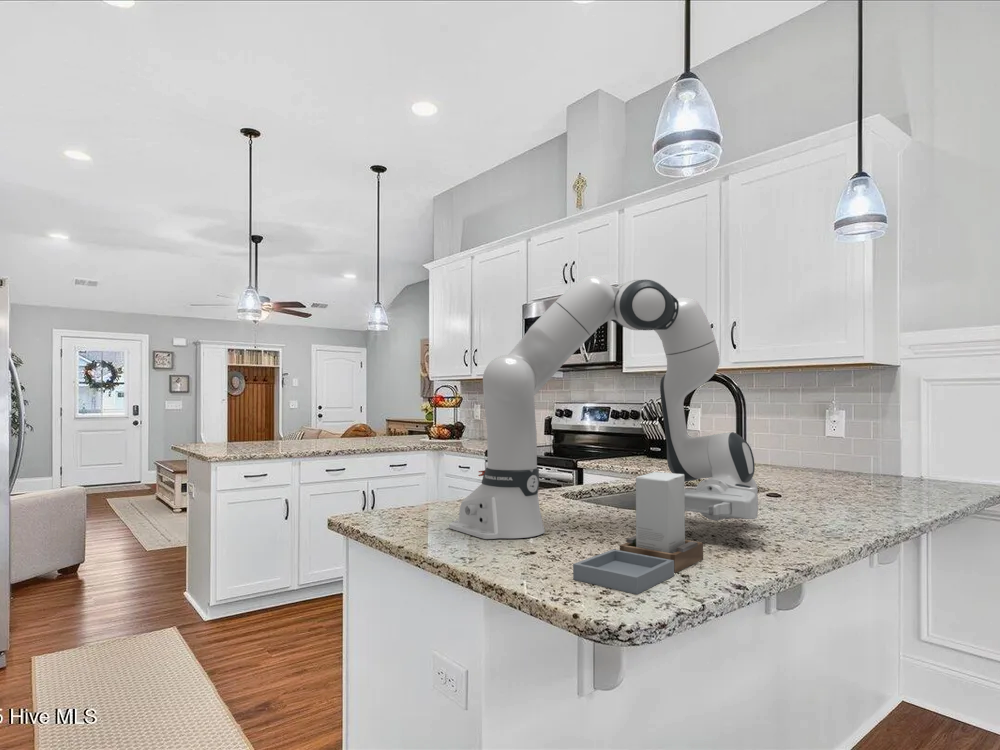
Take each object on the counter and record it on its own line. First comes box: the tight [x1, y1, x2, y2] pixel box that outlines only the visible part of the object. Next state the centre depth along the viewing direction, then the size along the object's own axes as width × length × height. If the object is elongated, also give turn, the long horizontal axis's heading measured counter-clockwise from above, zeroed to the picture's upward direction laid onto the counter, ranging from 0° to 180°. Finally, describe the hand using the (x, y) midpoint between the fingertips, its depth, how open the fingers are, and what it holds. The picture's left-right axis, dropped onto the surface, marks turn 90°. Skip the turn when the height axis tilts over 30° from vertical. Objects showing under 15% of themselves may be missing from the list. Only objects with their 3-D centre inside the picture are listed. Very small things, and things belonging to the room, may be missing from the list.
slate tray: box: [572, 548, 675, 595], centre depth 99 cm, size 12×13×2 cm
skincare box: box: [635, 471, 686, 554], centre depth 109 cm, size 8×7×16 cm
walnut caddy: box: [619, 535, 704, 574], centre depth 109 cm, size 11×12×4 cm
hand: (688, 507), depth 118 cm, fingers open, 8 cm apart
